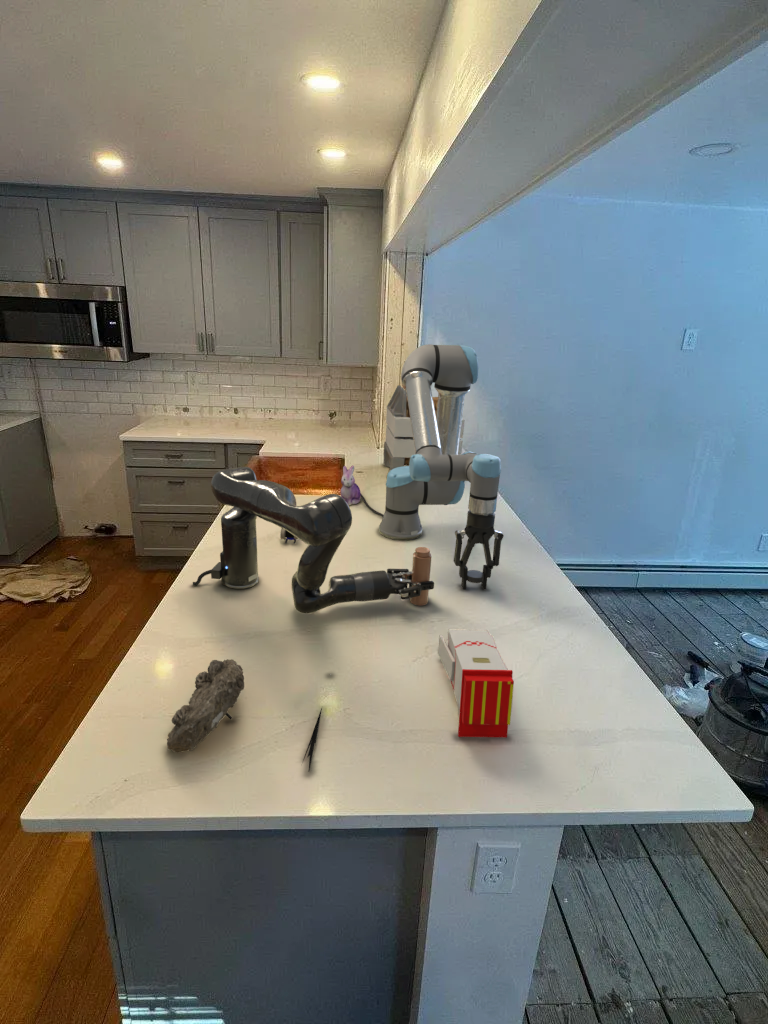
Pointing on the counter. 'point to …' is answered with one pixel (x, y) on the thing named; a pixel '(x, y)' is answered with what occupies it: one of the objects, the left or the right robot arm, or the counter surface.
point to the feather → (313, 740)
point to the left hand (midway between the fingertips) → (429, 580)
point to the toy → (478, 682)
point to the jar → (421, 573)
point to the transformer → (402, 431)
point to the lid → (475, 576)
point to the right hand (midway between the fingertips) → (473, 587)
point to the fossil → (206, 705)
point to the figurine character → (287, 536)
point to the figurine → (350, 487)
